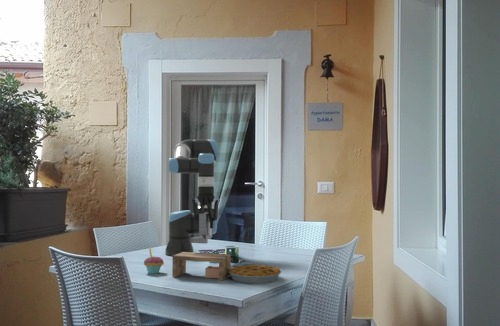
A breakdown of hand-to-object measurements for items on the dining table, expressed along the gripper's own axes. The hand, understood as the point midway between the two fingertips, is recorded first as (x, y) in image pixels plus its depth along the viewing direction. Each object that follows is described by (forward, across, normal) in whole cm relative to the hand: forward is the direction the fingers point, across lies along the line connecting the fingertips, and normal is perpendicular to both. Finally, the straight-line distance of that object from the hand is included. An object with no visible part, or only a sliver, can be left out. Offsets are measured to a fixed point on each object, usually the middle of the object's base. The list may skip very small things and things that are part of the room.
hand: (205, 234), depth 252 cm
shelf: (+15, +7, -23) cm, 28 cm away
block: (+15, +12, -22) cm, 29 cm away
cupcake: (+15, -16, -23) cm, 31 cm away
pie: (+15, +30, -20) cm, 40 cm away
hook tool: (+2, +3, -7) cm, 7 cm away
